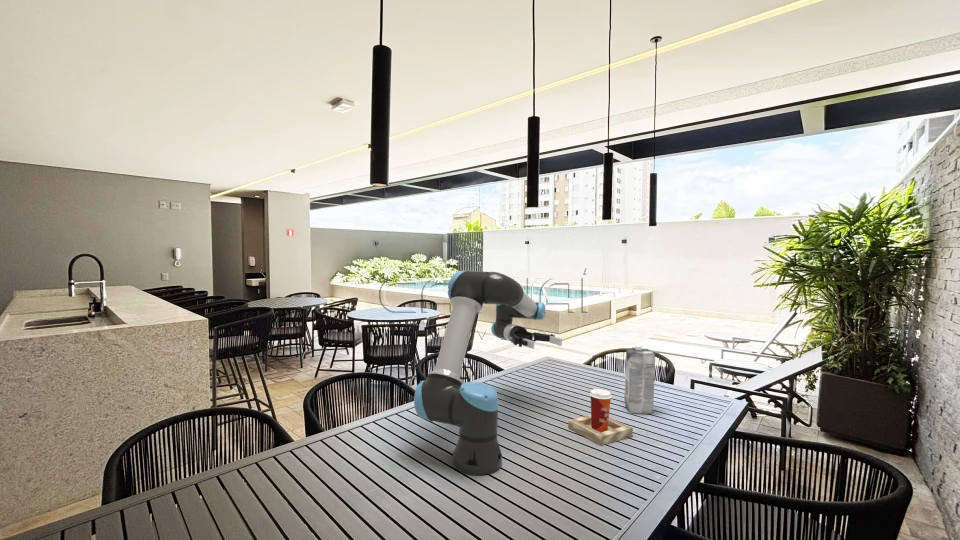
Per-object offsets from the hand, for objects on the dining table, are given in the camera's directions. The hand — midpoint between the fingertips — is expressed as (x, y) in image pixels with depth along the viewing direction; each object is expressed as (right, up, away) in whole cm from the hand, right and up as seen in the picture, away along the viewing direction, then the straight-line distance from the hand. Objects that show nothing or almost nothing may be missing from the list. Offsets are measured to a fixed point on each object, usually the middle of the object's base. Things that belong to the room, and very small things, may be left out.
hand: (547, 343), depth 159 cm
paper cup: (+18, -30, -9) cm, 36 cm away
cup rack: (+18, -31, -9) cm, 37 cm away
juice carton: (+40, -31, +14) cm, 53 cm away
